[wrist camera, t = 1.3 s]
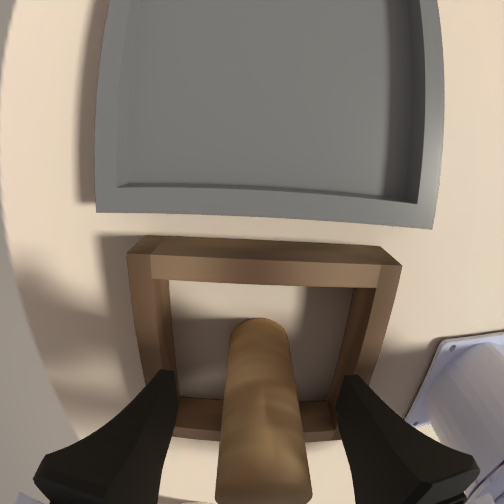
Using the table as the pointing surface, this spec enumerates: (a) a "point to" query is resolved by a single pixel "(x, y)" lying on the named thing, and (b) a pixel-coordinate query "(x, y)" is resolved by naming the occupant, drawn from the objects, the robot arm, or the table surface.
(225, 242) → the holder
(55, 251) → the table surface
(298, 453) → the pin
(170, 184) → the tray
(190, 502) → the foam cup
